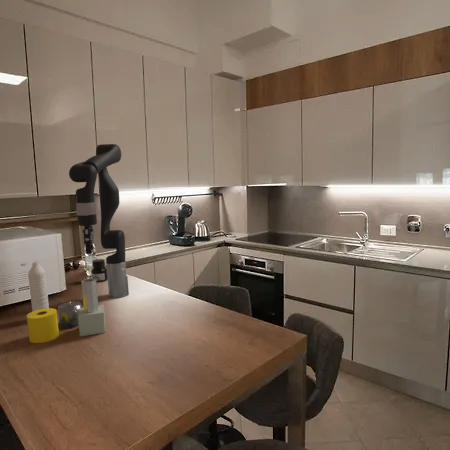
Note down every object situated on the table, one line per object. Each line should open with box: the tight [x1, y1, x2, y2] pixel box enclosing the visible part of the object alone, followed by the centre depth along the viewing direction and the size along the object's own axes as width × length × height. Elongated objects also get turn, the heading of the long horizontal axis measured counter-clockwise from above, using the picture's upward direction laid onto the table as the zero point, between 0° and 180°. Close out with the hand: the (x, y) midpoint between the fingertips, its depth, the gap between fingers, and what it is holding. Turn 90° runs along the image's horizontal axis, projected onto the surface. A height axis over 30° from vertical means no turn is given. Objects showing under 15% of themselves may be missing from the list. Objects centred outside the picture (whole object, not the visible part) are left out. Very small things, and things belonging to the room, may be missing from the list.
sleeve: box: [81, 277, 99, 313], centre depth 138 cm, size 5×5×12 cm
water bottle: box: [20, 261, 50, 312], centre depth 152 cm, size 9×6×25 cm
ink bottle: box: [90, 258, 108, 283], centre depth 208 cm, size 10×9×12 cm
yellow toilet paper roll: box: [26, 307, 60, 344], centre depth 134 cm, size 10×10×9 cm
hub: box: [57, 300, 83, 329], centre depth 146 cm, size 9×9×10 cm
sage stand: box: [78, 304, 107, 337], centre depth 139 cm, size 9×9×10 cm
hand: (89, 251), depth 150 cm, fingers open, 8 cm apart
